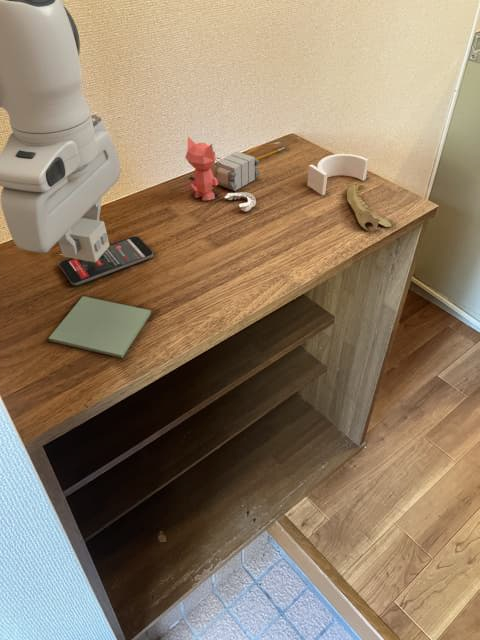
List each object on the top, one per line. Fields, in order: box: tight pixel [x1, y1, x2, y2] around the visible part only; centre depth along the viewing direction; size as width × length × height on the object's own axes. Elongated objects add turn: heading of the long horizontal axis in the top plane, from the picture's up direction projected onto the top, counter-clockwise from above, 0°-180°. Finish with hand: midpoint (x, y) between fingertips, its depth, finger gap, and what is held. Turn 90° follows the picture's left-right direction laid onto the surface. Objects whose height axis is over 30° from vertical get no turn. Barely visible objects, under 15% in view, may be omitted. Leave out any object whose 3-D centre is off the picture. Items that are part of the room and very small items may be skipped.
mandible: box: [346, 183, 392, 232], centre depth 103 cm, size 6×17×3 cm, turn 11°
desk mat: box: [48, 295, 152, 359], centre depth 79 cm, size 12×10×1 cm
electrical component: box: [215, 141, 286, 192], centre depth 114 cm, size 24×6×5 cm, turn 140°
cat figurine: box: [185, 136, 223, 201], centre depth 103 cm, size 7×7×12 cm
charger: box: [58, 217, 110, 262], centre depth 70 cm, size 5×4×4 cm
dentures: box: [224, 191, 257, 213], centre depth 105 cm, size 7×5×2 cm
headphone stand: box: [306, 153, 370, 196], centre depth 110 cm, size 5×6×12 cm
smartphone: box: [58, 235, 154, 287], centre depth 91 cm, size 7×1×15 cm
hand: (83, 241), depth 70 cm, fingers closed on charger, 4 cm apart
